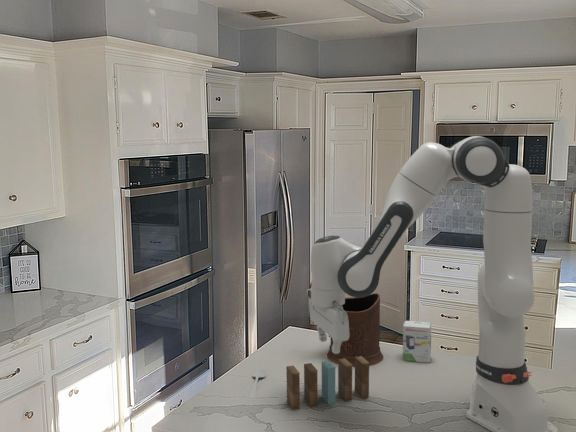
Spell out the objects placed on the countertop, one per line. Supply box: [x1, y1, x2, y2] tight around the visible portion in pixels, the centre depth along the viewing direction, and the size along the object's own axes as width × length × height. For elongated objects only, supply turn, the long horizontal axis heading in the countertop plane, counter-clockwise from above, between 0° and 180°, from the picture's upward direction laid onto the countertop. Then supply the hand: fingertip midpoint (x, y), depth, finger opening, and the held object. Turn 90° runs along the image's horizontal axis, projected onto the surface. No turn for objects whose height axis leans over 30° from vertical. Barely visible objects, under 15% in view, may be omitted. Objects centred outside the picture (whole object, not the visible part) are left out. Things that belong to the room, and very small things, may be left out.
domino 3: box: [321, 360, 336, 405], centre depth 157 cm, size 2×5×10 cm, turn 18°
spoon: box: [248, 367, 267, 399], centre depth 167 cm, size 4×21×2 cm, turn 174°
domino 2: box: [303, 362, 319, 408], centre depth 156 cm, size 2×5×10 cm, turn 17°
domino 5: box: [354, 356, 370, 400], centre depth 160 cm, size 2×5×10 cm, turn 17°
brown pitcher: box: [308, 282, 384, 368], centre depth 187 cm, size 18×24×25 cm
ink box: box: [402, 320, 432, 364], centre depth 184 cm, size 9×5×12 cm, turn 73°
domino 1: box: [286, 365, 301, 410], centre depth 154 cm, size 2×5×10 cm, turn 18°
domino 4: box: [337, 358, 353, 402], centre depth 159 cm, size 2×5×10 cm, turn 17°
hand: (329, 346), depth 156 cm, fingers open, 8 cm apart
